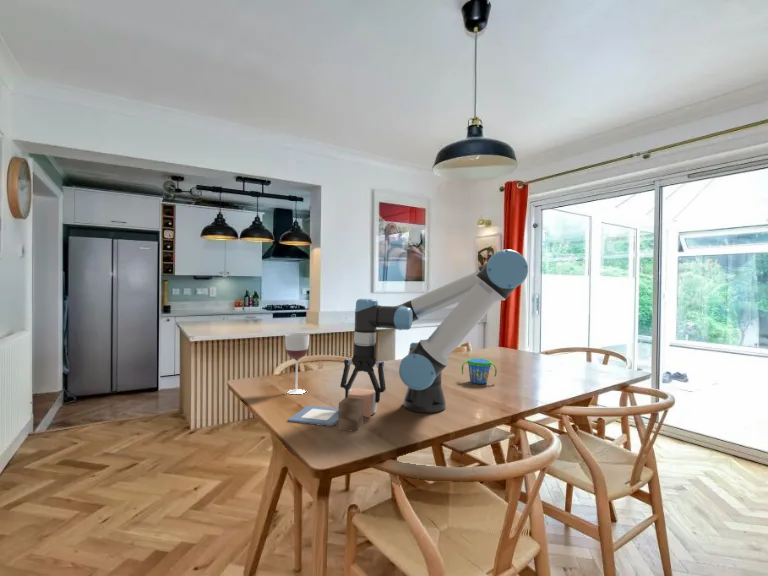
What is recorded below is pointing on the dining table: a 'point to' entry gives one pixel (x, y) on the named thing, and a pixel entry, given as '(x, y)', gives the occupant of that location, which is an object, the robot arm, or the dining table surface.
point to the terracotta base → (367, 397)
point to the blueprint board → (316, 415)
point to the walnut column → (350, 414)
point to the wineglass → (296, 353)
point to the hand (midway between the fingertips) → (361, 409)
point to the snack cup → (479, 370)
